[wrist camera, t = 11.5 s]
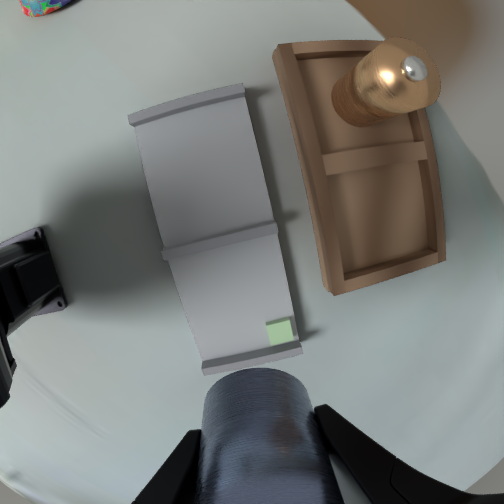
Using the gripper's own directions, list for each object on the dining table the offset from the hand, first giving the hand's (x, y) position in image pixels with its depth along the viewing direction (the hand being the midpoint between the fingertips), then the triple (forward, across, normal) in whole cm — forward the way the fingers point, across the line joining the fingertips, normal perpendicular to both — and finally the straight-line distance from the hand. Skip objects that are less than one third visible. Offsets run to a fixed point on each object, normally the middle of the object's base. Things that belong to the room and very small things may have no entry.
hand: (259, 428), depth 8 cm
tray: (+12, -10, -7) cm, 17 cm away
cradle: (+12, +1, -4) cm, 13 cm away
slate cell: (+1, 0, 0) cm, 1 cm away
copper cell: (+11, -10, -11) cm, 18 cm away
